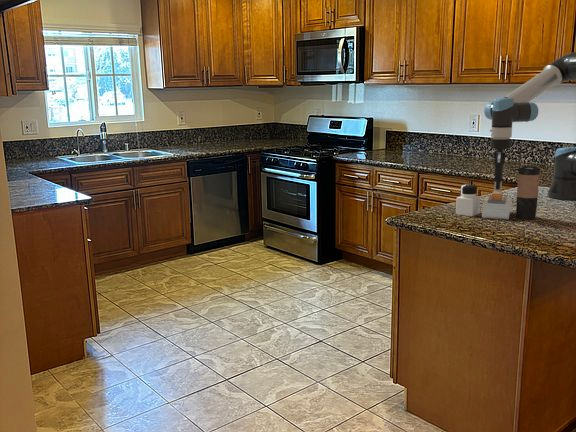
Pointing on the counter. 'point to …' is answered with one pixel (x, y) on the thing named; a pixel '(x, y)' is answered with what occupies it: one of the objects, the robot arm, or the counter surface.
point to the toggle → (497, 196)
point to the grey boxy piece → (496, 208)
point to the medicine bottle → (468, 201)
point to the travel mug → (527, 192)
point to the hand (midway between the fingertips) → (497, 197)
